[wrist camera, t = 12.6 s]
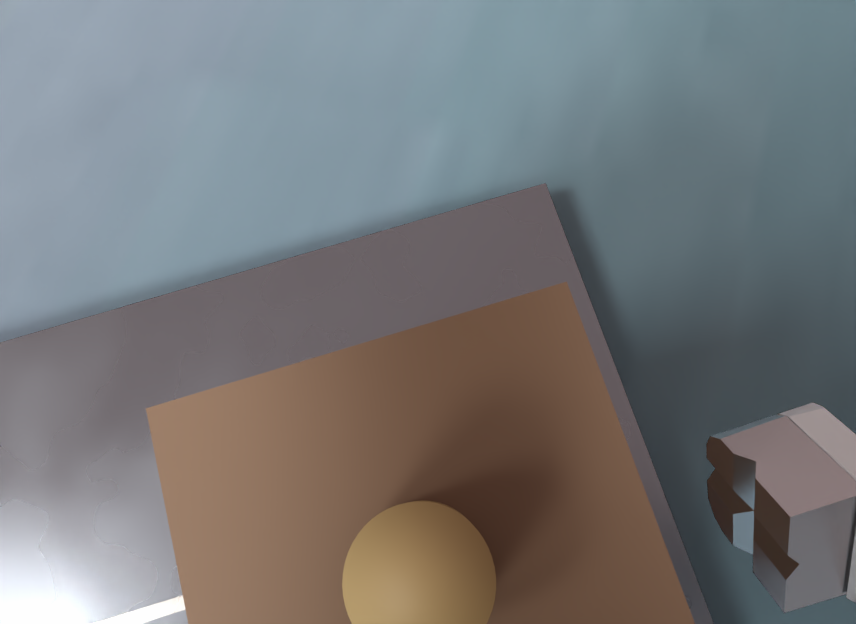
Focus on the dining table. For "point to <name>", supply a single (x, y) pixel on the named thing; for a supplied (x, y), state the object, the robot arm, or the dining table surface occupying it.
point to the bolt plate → (228, 362)
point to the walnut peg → (418, 484)
